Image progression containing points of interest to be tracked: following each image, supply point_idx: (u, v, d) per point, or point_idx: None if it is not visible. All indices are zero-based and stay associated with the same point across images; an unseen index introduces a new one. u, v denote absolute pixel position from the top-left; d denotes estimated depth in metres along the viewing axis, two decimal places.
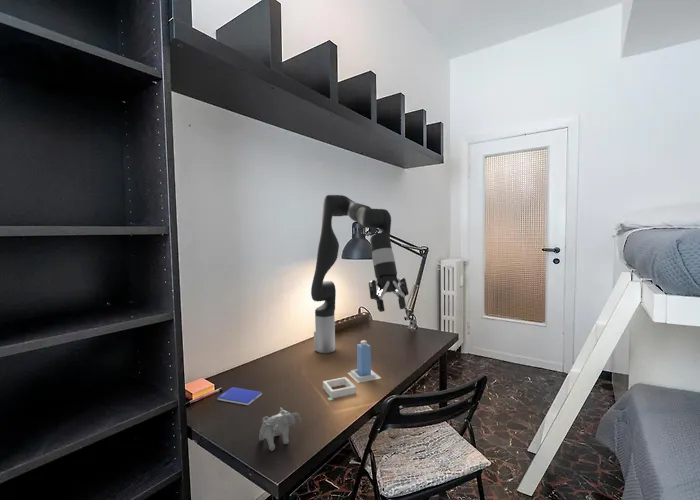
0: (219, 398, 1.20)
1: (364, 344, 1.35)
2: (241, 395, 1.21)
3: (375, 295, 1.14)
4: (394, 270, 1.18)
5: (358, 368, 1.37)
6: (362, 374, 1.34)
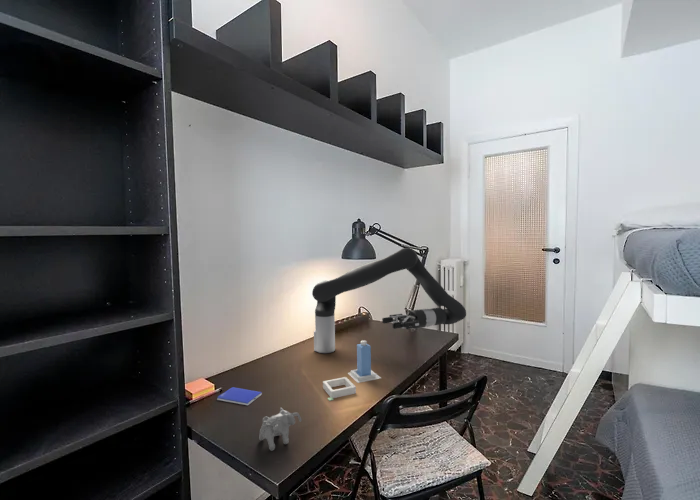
0: (219, 398, 1.20)
1: (364, 344, 1.35)
2: (241, 395, 1.21)
3: None
4: None
5: (358, 368, 1.37)
6: (362, 374, 1.34)
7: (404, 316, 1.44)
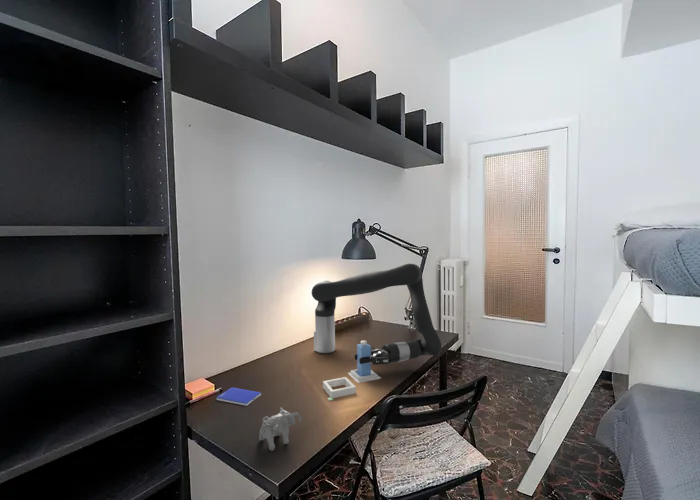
0: (218, 398, 1.20)
1: (364, 344, 1.35)
2: (240, 395, 1.21)
3: None
4: None
5: (358, 368, 1.37)
6: (362, 374, 1.34)
7: (377, 350, 1.40)
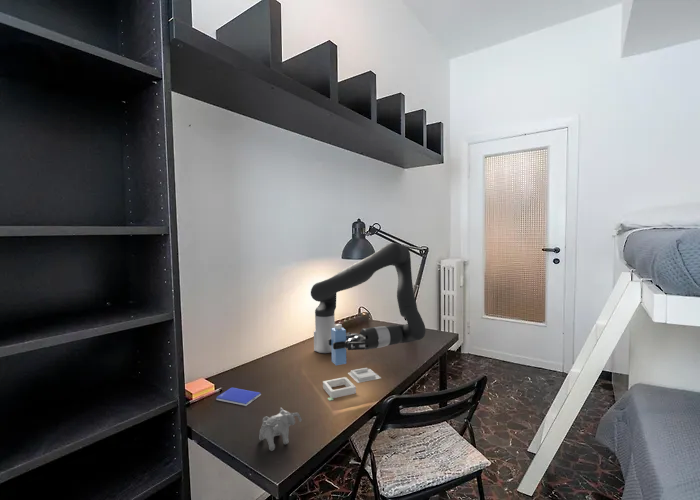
0: (218, 398, 1.20)
1: (339, 328, 1.22)
2: (240, 395, 1.21)
3: None
4: None
5: (332, 354, 1.24)
6: (336, 360, 1.21)
7: (354, 335, 1.27)
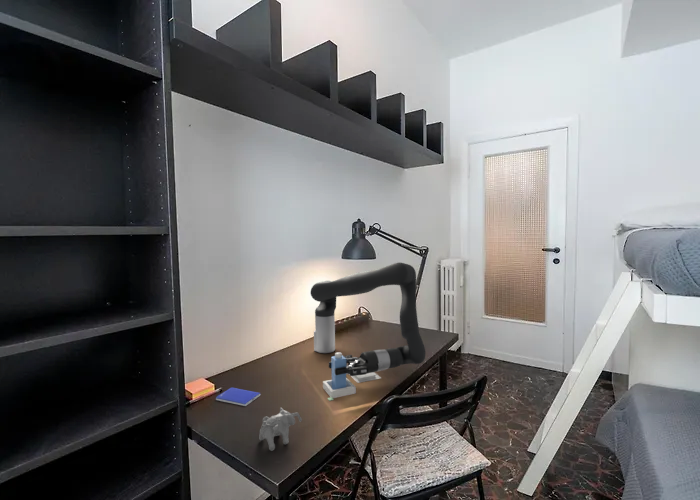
0: (217, 398, 1.20)
1: (338, 357, 1.22)
2: (239, 395, 1.21)
3: None
4: None
5: (332, 383, 1.24)
6: None
7: (354, 359, 1.27)
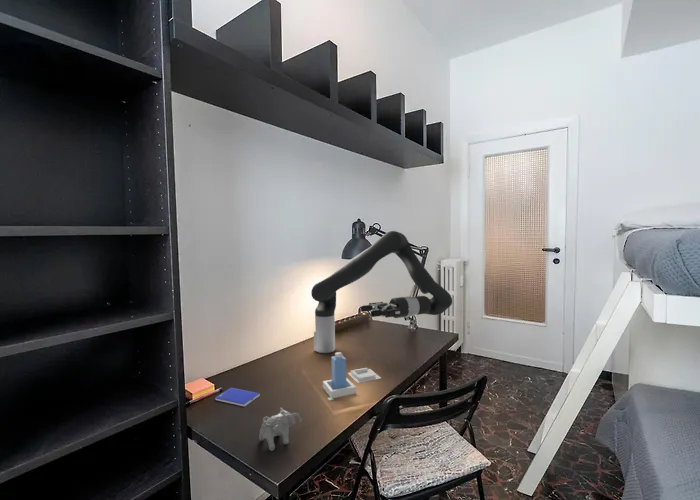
0: (217, 398, 1.20)
1: (339, 356, 1.23)
2: (238, 396, 1.21)
3: None
4: None
5: (332, 383, 1.24)
6: None
7: (384, 304, 1.31)
